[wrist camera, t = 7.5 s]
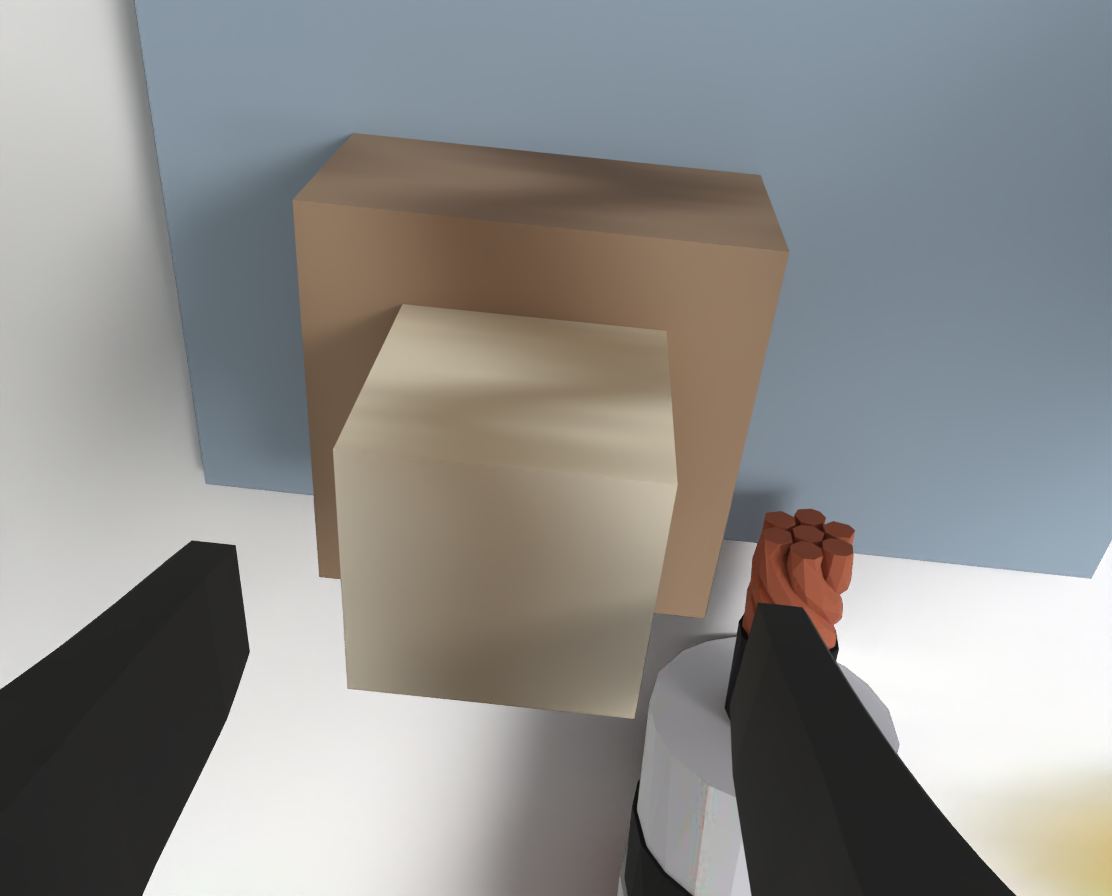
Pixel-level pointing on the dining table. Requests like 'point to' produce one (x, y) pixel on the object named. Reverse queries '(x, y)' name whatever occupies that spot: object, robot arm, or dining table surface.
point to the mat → (723, 145)
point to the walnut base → (547, 293)
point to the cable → (727, 720)
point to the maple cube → (506, 510)
